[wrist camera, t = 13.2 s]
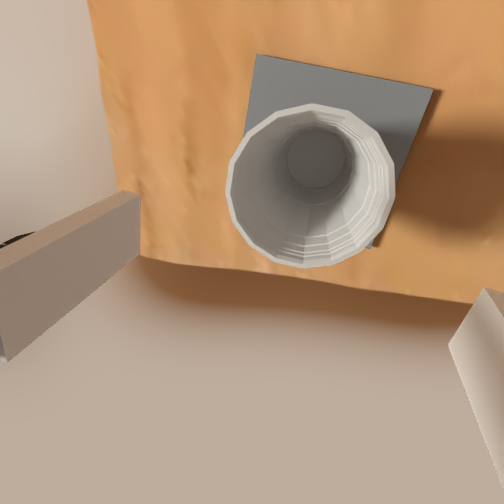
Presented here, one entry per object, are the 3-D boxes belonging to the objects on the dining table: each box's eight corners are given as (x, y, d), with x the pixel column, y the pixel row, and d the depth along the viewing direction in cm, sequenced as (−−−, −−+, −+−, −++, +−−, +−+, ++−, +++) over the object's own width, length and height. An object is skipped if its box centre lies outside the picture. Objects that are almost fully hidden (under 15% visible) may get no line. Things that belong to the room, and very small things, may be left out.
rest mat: (431, 89, 28) (433, 89, 27) (369, 245, 35) (370, 249, 34) (258, 54, 30) (256, 53, 29) (233, 210, 37) (231, 212, 36)
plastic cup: (370, 217, 33) (383, 279, 22) (262, 210, 35) (228, 264, 25) (388, 95, 28) (415, 102, 18) (261, 97, 30) (220, 104, 20)
